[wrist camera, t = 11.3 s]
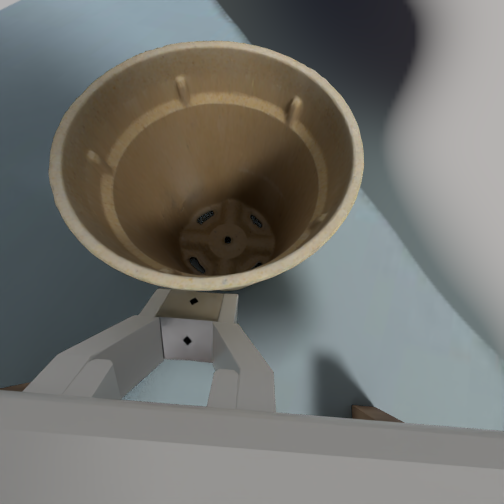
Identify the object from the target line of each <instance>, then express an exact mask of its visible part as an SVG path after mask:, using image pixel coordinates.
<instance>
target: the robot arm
mask: <svg viewBox="0 0 504 504" xmlns="http://www.w3.org/2000/svg"><path fill="white" fill-rule="evenodd" d="M237 311H238V294H226V293H225V294H221V293H206V292H197V291H188V290H178V289H167V288H158V289H157V290H156V291H155V292H154V294H153V295H152V297H151V298H150V299H149V301H148V302H147V304H146V305H145V307H144V308H143V309H142V311H141V312H140V314H139V315H133V316H131V317H130V318H128V319H126V320H124V321H122V322H120V323H118V324H116V325H114V326H112V327H110V328H108V329H106V330H104V331H102V332H100V333H98V334H96V335H94V336H92V337H90V338H88V339H86V340H85V341H83V342H81V343H79V344H77V345H75V346H73V347H71V348H69V349H67V350H65V351H63V352H61V353H59V354H57V356H56V357H55V358H54V359H53V360H52V361H51V362H50V363H49V364H48V365H47V366H46V367H45V368H44V369H43V370H42V371H41V372H40V373H39V374H38V376H37V377H36V378H35V379H34V380H33V381H32V382H31V383H30V384H29V385H28V386H27V387H26V388H25V389H24V390H23V391H22V392H19V391H7V390H0V504H504V431H498V430H485V429H473V428H461V427H449V426H436V425H424V424H412V423H399V422H387V421H375V420H362V419H350V418H338V417H326V416H314V415H302V414H289V413H277V412H276V406H275V388H274V372H273V371H272V369H271V368H270V367H269V365H268V364H267V363H266V361H265V360H264V358H263V357H262V356H261V354H260V353H259V352H258V350H257V349H256V347H255V346H254V345H253V343H252V342H251V341H250V339H249V338H248V336H247V335H246V334H245V332H244V331H243V330H242V328H241V327H240V325H239V324H237ZM164 359H172V360H190V361H199V362H208V363H213V367H214V369H215V372H214V376H213V381H212V385H211V390H210V394H209V399H208V404H207V407H203V406H191V405H179V404H167V403H154V402H142V401H130V400H121V399H122V398H123V397H124V396H125V395H126V394H127V393H128V392H129V391H130V390H132V389H133V388H134V387H135V386H136V385H137V384H138V383H139V382H140V381H142V380H143V379H144V378H145V377H146V376H147V375H148V374H149V373H150V372H152V371H153V370H154V369H155V368H156V367H157V366H158V365H159V364H160V363H162V362H163V361H164Z"/></svg>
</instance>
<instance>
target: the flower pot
mask: <svg viewBox="0 0 504 504" xmlns="http://www.w3.org/2000/svg"><path fill="white" fill-rule="evenodd" d="M363 155H364V154H363V144H362V140H361V136H360V131H359V128H358V124H357V122H356V120H355V118H354V116H353V114H352V112H351V110H350V108H349V106H348V105H347V104H346V102H345V100H344V99H343V98H342V97H341V95H340V94H339V93H338V92H337V91H336V90H335V88H333V87H332V86H331V85H330V84H329V83H328V81H327V80H326V79H325V78H323V77H321V76H320V75H319V74H318V73H316V71H315V70H312V69H311V68H308V67H306V66H305V65H304V64H301V63H299V62H297V61H296V60H294V59H292V58H289V57H288V56H285V55H282V54H280V53H278V52H275V51H272V50H270V49H267V48H261V47H259V46H255V45H249V44H245V43H238V42H230V41H195V42H186V43H177V44H170V45H166V46H164V47H162V48H156V49H154V50H150V51H145V52H144V53H140V54H139V55H136V56H134V57H132V58H130V59H127V60H126V61H124V62H123V63H121V64H119V65H117V66H116V67H114V68H112V69H110V70H109V71H107V72H106V73H105V74H104V75H102V76H100V77H99V78H98V79H97V80H95V81H94V82H93V83H92V84H91V85H90V86H89V87H88V88H87V89H86V90H85V91H84V92H83V93H82V95H81V96H79V97H78V98H76V100H75V102H73V103H72V105H71V106H70V107H69V109H68V111H66V112H65V114H64V116H63V118H62V120H61V122H60V124H59V127H58V128H57V131H56V132H55V135H54V137H53V142H52V147H51V150H50V165H49V180H50V186H51V187H52V192H53V195H54V201H55V204H56V206H57V208H58V210H59V211H60V214H61V217H62V218H63V219H64V222H65V223H66V225H67V226H68V228H69V229H70V230H71V232H72V233H73V234H74V235H75V236H76V238H77V239H78V240H79V241H80V242H81V243H82V244H83V245H84V246H85V247H86V248H87V249H88V250H89V251H90V252H91V253H92V254H93V255H95V256H96V257H97V258H99V259H100V260H102V261H103V262H105V263H106V264H108V265H109V266H111V267H112V268H114V269H116V270H118V271H120V272H122V273H124V274H126V275H129V276H131V277H133V278H136V279H138V280H141V281H144V282H147V283H150V284H154V285H158V286H162V287H167V288H172V289H178V290H190V291H213V290H221V291H232V290H239V289H242V288H245V287H248V286H250V285H252V284H254V283H257V282H260V281H263V280H266V279H269V278H272V277H274V276H276V275H279V274H281V273H283V272H285V271H287V270H289V269H291V268H293V267H295V266H296V265H298V264H300V263H301V262H303V261H304V260H305V259H307V258H308V257H310V256H311V255H313V254H314V253H315V252H316V251H317V250H319V249H320V248H321V247H322V246H323V245H324V244H325V243H326V242H327V241H328V240H329V239H330V238H331V237H332V236H333V234H334V233H335V232H336V231H337V229H338V228H339V227H340V226H341V224H342V223H343V222H344V220H345V219H346V217H347V216H348V214H349V212H350V210H351V208H352V206H353V204H354V202H355V200H356V198H357V195H358V191H359V188H360V185H361V180H362V175H363V170H364V156H363ZM210 211H213V213H214V215H213V216H212V217H210V218H209V219H208V220H206V221H205V222H203V224H200V223H198V221H197V220H198V218H199V217H200V216H202V215H204V214H207V213H208V212H210ZM251 215H253V216H255V217H256V218H257V219H258V220H259V221H260V222H261V224H262V227H261V228H259V226H257V225H256V224H253V223H254V222H253V220H252V219H251V218H250V216H251ZM226 237H230V238H231V242H230V243H225V238H226ZM191 257H195V258H196V259H197V260H198V262H199V264H200V265H201V266H202V267H203V268H204V269H205V273H204V274H202V273H201V272H200V271H198V270H197V269H196V268H195V267H194V266H193V265H192V264H191V263H190V258H191ZM257 263H261V264H262V265H261V266H259V267H257V268H254V269H252V268H253V267H254V266H255V265H256V264H257Z"/></svg>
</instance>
